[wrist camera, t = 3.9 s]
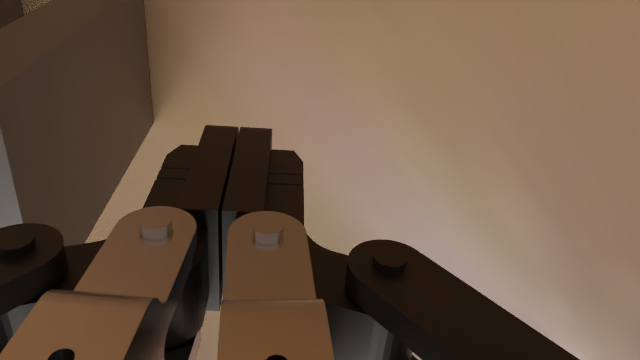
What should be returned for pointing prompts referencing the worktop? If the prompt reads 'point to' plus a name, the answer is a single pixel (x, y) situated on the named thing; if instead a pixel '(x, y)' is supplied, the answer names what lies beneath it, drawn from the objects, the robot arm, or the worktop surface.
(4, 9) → the domino
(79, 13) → the domino
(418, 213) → the worktop surface
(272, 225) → the robot arm
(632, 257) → the worktop surface
